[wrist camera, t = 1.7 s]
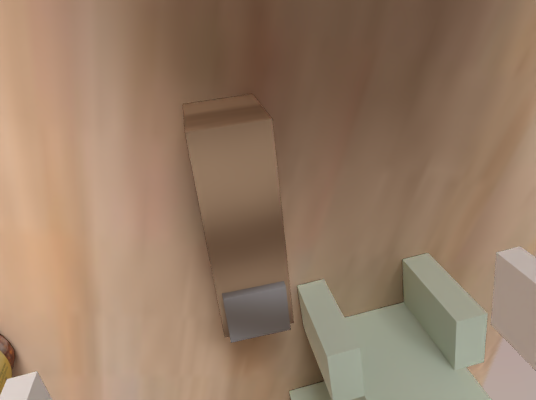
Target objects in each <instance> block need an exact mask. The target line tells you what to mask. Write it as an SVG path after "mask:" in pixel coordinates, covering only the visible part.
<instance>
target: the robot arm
mask: <svg viewBox="0 0 536 400" xmlns="http://www.w3.org/2000/svg"><path fill="white" fill-rule="evenodd" d="M491 325H492V326H493V327H494V328H495V329H496V330H497V331H498V332H499V333H500V335H501V336H502V337H503V338H504V339H505V340H506V341H507V342H508V343H509V344H510V345H511V346H512V347H513V348H514V349H515V350H516V351H517V352H518V353H519V354H520V355H521V356H522V357H523V358H524V359H525V360H526V361H527V362H528V363H529V364H530V365H531V366H532V367H533V368H534V370H535V371H536V257H534V256H533V255H532V254H530V253H529V252H527V251H526V250H525V249H523V248H522V247H520V246H519V247H515V248H512V249H508V250H504V251H500V252H496V263H495V276H494V289H493V302H492V315H491ZM0 400H52V398H51V396H50V394H49V392H48V391H47V389H46V387H45V385H44V383H43V381H42V379H41V377H40V376H39V374H38V372H37V371H36V372H32V373H29V374H25V375H21V376H17V377H13V378H9V379H7V380H6V383H5V385H4V387H3V390H2V392H1V394H0Z"/></svg>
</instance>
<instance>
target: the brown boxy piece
mask: <svg viewBox="0 0 536 400" xmlns="http://www.w3.org/2000/svg"><path fill="white" fill-rule="evenodd" d="M183 113H184V127H185V135H186V141H187V146H188V151H189V156H190V161H191V166H192V171H193V177H194V182H195V187H196V192H197V197H198V202H199V208H200V213H201V218H202V223H203V228H204V233H205V238H206V244H207V249H208V254H209V259H210V264H211V269H212V274H213V280H214V285H215V290H216V295H217V300H218V305H219V310H220V316H221V321H222V326H223V331H224V336H225V337H230V340H231V342H236V341H241V340H245V339H250V338H254V337H259V336H264V335H268V334H273V333H277V332H282V331H287V330H291V328H290V323H294V321H293V311H292V301H291V292H290V282H289V273H288V263H287V254H286V244H285V235H284V225H283V216H282V206H281V197H280V187H279V178H278V168H277V158H276V149H275V139H274V130H273V120H272V118H271V117H270V115H269V114H268V113H267V112H266V110H265V109H264V108H263V106H262V105H261V104H260V103H259V101H258V100H257V99H256V98H255V96H254V95H253V94H247V95H241V96H234V97H227V98H221V99H214V100H207V101H201V102H194V103H187V104H183Z"/></svg>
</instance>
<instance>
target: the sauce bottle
mask: <svg viewBox="0 0 536 400" xmlns="http://www.w3.org/2000/svg"><path fill="white" fill-rule="evenodd" d="M14 358H15V354H14V349H13V347H11V345H10V344H9V342H8V341H7V340H6V339H5V338H4V337H2V336H1V335H0V394H1V392H2V390H3V387H4V385H5V383H6V380H7V379H9V378H12V369H13V364H14Z"/></svg>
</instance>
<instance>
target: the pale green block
mask: <svg viewBox="0 0 536 400" xmlns="http://www.w3.org/2000/svg"><path fill="white" fill-rule="evenodd" d="M402 261H403V295H404V302H403V303H399V304H395V305H391V306H387V307H383V308H380V309H376V310H372V311H368V312H364V313H361V314H357V315H353V316H349V317H345V318H344V316H343V314H342V312H341V310H340V308H339V307H338V305H337V303H336V301H335V299H334V297H333V295H332V293H331V291H330V290H329V288H328V286H327V284H326V282H325V280H324V279H322V280H318V281H314V282H310V283H306V284H302V285H298V286H297V288H298V295H299V301H300V307H301V313H302V320H303V326H304V330H305V333H306V335H307V338H308V340H309V343H310V345H311V348H312V350H313V353H314V356H315V358H316V361H317V363H318V366H319V368H320V371H321V374H322V376H323V379H324V382H320V383H316V384H313V385H309V386H306V387H302V388H298V389H295V390H291V391H289V393H290V399H291V400H492V399H491V398H490V397H489V395H488V394H487V393H486V392H485V390H484V389H483V388H482V387H481V385H480V384H479V383H478V381H477V380H476V379H475V378H474V376H473V375H472V374H471V373H470V371H469V370H468V369H467V367H468V366H472V365H475V364H479V363H482V362H484V354H485V341H486V328H487V315H488V313H487V312H486V311H485V310H484V309H483V308H482V307H481V306H480V305H479V304H478V303H477V302H476V301H475V300H474V299H473V298H472V297H471V296H470V295H469V294H468V293H467V292H466V291H465V290H464V289H463V288H462V287H461V286H460V285H459V284H458V283H457V282H456V281H455V280H454V279H453V278H452V277H451V276H450V275H449V274H448V273H447V272H446V271H445V270H444V269H443V268H442V267H441V266H440V265H439V264H438V263H437V261H436V260H435V259H434V258H433V257H432V256H431V255H430V254H429V253H425V254H421V255H417V256H413V257H409V258H406V259H402Z"/></svg>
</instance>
